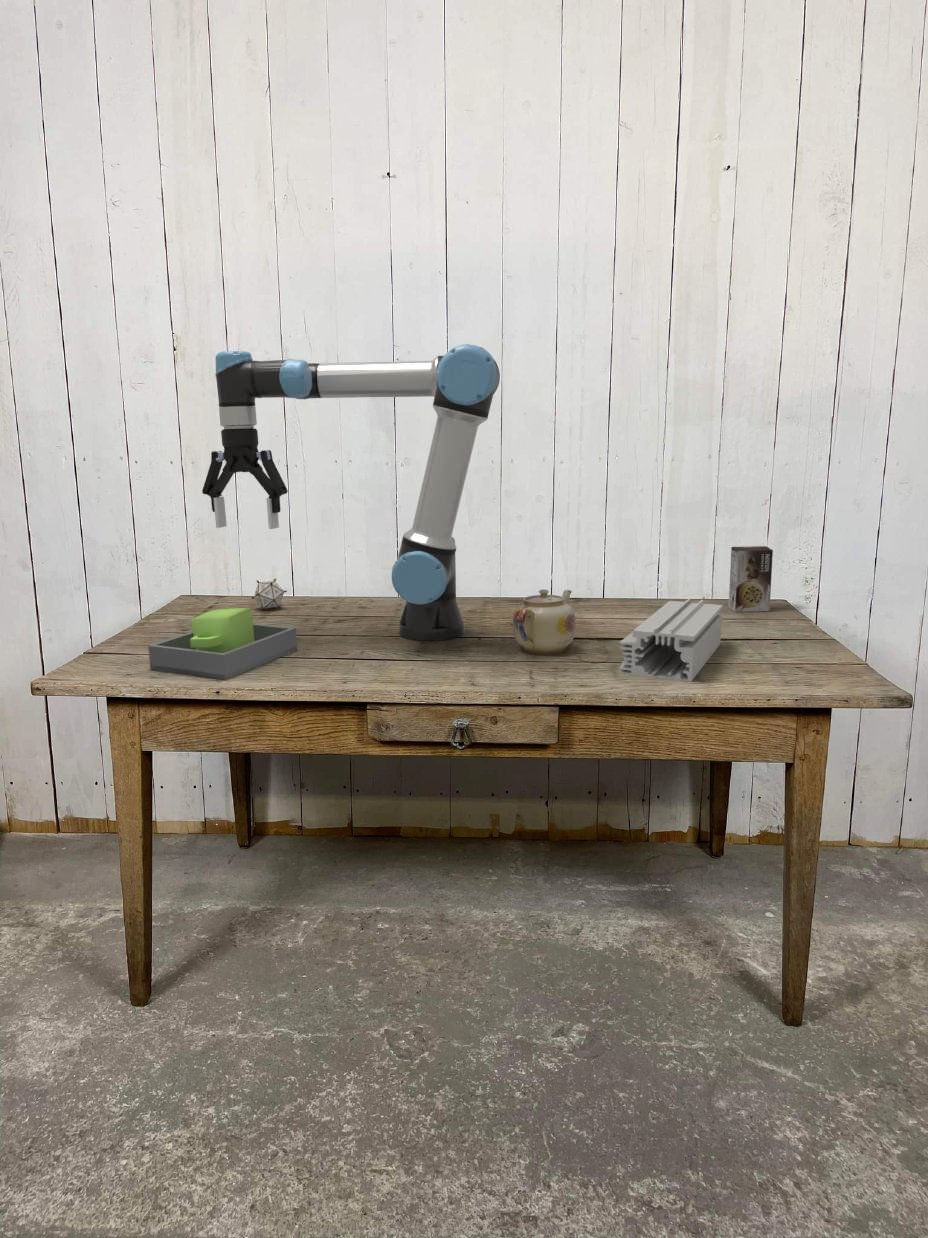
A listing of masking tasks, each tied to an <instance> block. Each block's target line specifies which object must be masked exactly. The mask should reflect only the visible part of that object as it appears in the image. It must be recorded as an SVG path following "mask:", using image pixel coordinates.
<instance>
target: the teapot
mask: <svg viewBox="0 0 928 1238" xmlns="http://www.w3.org/2000/svg"><path fill="white" fill-rule="evenodd" d="M572 592H573V590H570V589H564V590H563V593H562V596H561V595H556V594H554V595H553V594H549V590H548V589H540V590H539V591H538V593H539V594H535V595H529V596H526V597H523V599H522V601H523V602H522V603H521V604H519V605H518V606H517V607H516V608H515V611H514V613H513V617H512V630H513V631H512V632H513V636H514V639H515V641H516V642H517V643H518V644H519V645H520V646H522V649H523V651H524V652H526V653H528V654H533V655H541V656H542V655H543V656H545V655H549V656H550V655H557V654H562V653H564V652H566V650H567V647H568V646H569V645H570V644H571V643H572V642H573V640H574V638H575V634H576V630H577V629H576V627H577V626H576V623H577V621H576V616H575V612H574V610H573V607H571V606H570V605H569V603H570V602H569V601H570V596H571V594H572Z"/></svg>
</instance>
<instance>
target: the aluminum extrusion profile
mask: <svg viewBox="0 0 928 1238" xmlns="http://www.w3.org/2000/svg"><path fill="white" fill-rule="evenodd" d="M690 601H691V598H688V599H687V600H685V601H678V600H677V601H675V600H669V601H667V602H666V603H665V604H664V605H663V606H662V607H660V608H659V609H657V610H656V611H655V612H654V613H652V615H650V616H649V617H648V618H647V619H646V620H644V621H643V622H642V623H640V624H639V625H638V626H637V627H636V628H635V629H633V630H632V631H631V632H630V633H629V634H628V635H627V636H625V637H624V638H623V639H621V640H620V641H619V644H621V646H619V650H623V651H622V652H621V655H626V656H624V657H623V660H622V662H621V665H620V666H619V667H618V669H619V671H618V674H624V675H631V676H640V677H648V678H655V679H656V678H657V679H663V680H664V679H665V680H675V681H682V682H683V681H684V682H692V681H693V680H694V679H695V678H696V677H697V675H698V673H699V672H700V671H701V669H703V667H704V665H705V664H706V663H707V662H708V660H709V659H710V658H711V657H712V655H713V654H714V653H715V651H716V650H717V649H718V647H720V645H721V641H722V640H721V639H722V638H721V637H722V624H723V622H722V621H723V620H722V619H723V615H722V614H720V612H721V611H723V609H724V605H723V604H715V603H714V604H713V603H705V601H704V599H701V600H699V602H690Z"/></svg>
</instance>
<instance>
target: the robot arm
mask: <svg viewBox="0 0 928 1238" xmlns="http://www.w3.org/2000/svg"><path fill="white" fill-rule="evenodd" d="M214 376H215V379H216V387H217V396H218V398H217V399H218V412H219V413H218V414H219V425H220V427H223V429H221V430H220V433H221V435H220V436H221V445H222V447H223V448H224V449H223V451H221V450H215V451H214V450H213V451H211V454H210V455H211V457H210V459H211V461H210V464H209V468H208V471H207V474H206V477H205V480H204V484H203V487H202V494H203V495H207V496H209V497H210V500H211V503H210V504H211V510H212V513H214V517H215V518H214V520H215V528H216V529H220V528H225V527H228V526H227V517H226V516H227V515H226V505H225V503H226V502H225V496H223V492H224V491H225V489H226V487H227V486H228V483H229V482H230V480H231V479H232V477H233V476H234V474H235V473H249V474H251V476H252V475H253V477H254V478H255V479H256V481H257V482H258V483H259V485H260V486H261V488H263V490H264V491H265V492H266V493H267V495H268V497H267V498H266V510H267V520H268V521H267V523H268V529H269V530H273V529H278V528H279V527H280V524H279V523H280V522H279V521H280V520H279V513H281V499H280V498H281V496H283V495H286V494H288V489H287V486H286V484H285V482H284V480H283V478H282V476H281V474H280V472H279V470H278V468H277V466H276V464H275V462H274V460H273V459H274V458H273V453H272V451H271V450H270V449H265V450H260V451H259V450H258V446H259V432H258V429H257V428H255V426H257V424H258V423H257V409H256V399H262V398H263V399H266V398H272V399H273V398H275V399H276V398H277V399H278V398H283V399H284V398H286V399H296V400H308V399H335V398H336V399H337V398H338V399H340V398H341V399H342V398H343V399H344V398H408V397H409V398H415V397H416V398H418V397H421V398H423V397H424V398H425V397H428V398H429V397H433V402H432V407H433V410H434V412H435V413H436V415H437V418H436V423H435V427H434V430H433V431H434V432H433V434H432V435H433V436H432V439H431V445H430V449H429V454H428V458H427V462H426V466H425V471H424V475H423V480H422V483H421V489H420V492H419V496H418V501H417V505H416V509H415V514H414V519H413V523H412V527H411V528H410V529H409V530H407V531H405V532H404V533H403V535H402V538H401V539H402V540H401V542H400V543H401V544H400V548H399V553H398V556H397V559H396V561H395V562H394V564H393V566H392V569H391V583H392V586H393V588H394V590H395V592H396V593H397V595H398V596H399V597H400V598H401V599H402V600H404V601H405V604H404V608H403V611H402V615H401V618H400V621H399V626H398V628H399V635H400V636H401V637H403V638H405V639H409V640H415V641H441V640H443V641H444V640H450V639H454V638H459V637H460V636H462V635H464V633H465V623H464V620H463V616H462V614H461V611H460V608H459V605H458V602H457V585H456V583H457V581H456V580H457V579H456V574H457V573H456V572H457V571H456V567H457V565H456V552H457V545H456V540H455V538H454V537H453V532H454V528H455V524H456V519H457V517H458V516H457V515H458V510H459V507H460V503H461V500H462V499H461V498H462V494H463V491H464V487H465V482H466V478H467V473H468V470H469V465H470V462H471V457H472V453H473V449H474V444H475V440H476V437H477V432H478V429H479V426H480V425H481V424H483V423H485V422H486V421H488V418H489V413H490V410H491V405H492V402H493V398H494V395H495V393H496V392H497V390H498V388H499V384H500V379H501V375H500V368H499V366H498V363H497V361H496V360H495V358H494V357H493V356H492V354H491V353H490V352H489V351H487V350H486V349H485V348H483V347H482V346H478V345H477V344H469V343H465V344H460V345H457V346H454V347H453V348H451V349H449V350H448V351H447V352H446V353H445V354H444V355H436V356H435V357H434V358H433V359H432V360H410V361H409V360H408V361H405V360H404V361H403V360H402V361H401V360H399V361H368V362H367V361H365V362H364V361H362V362H360V361H359V362H324V363H322V362H321V363H316V362H315V363H314V362H312V363H310V362H307V361H306V360H304V359H295V358H294V359H293V358H287V359H276V360H275V359H274V360H253V356H252V353H250V351H245V350H244V351H243V350H237V351H235V350H227V351H220V352H218V353H216V355H215V375H214ZM224 461H225V462H226V463H225V465H224V466H223V462H224ZM259 461H261V464H262V465H261V464H260V463H259ZM262 466H263V467H262ZM222 467H223V468H222ZM263 469H264V470H265V471H264V470H263ZM221 470H222V471H221ZM265 472H266V473H265Z"/></svg>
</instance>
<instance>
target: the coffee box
mask: <svg viewBox="0 0 928 1238" xmlns="http://www.w3.org/2000/svg"><path fill="white" fill-rule="evenodd" d="M730 551H731V552H730V567H729V568H730V571H729V572H730V573H729V591H728V592H729V593H728V594H729V595H728V608H729V609H731V610H732V611H733V612H735V613H741V612H742V613H743V612H744V613H745V612H748V613H749V612H754V613H755V612H770V611H771V607H770V606H771V592H772V589H771V587H772V576H773V575H772V573H773V572H772V569H773V556H774V555H773V553H774V550H773V549H772V548H771V547H769V546H766V545H765V546H763V545H762V546H760V545H759V546H758V545H757V546H731V550H730Z"/></svg>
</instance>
